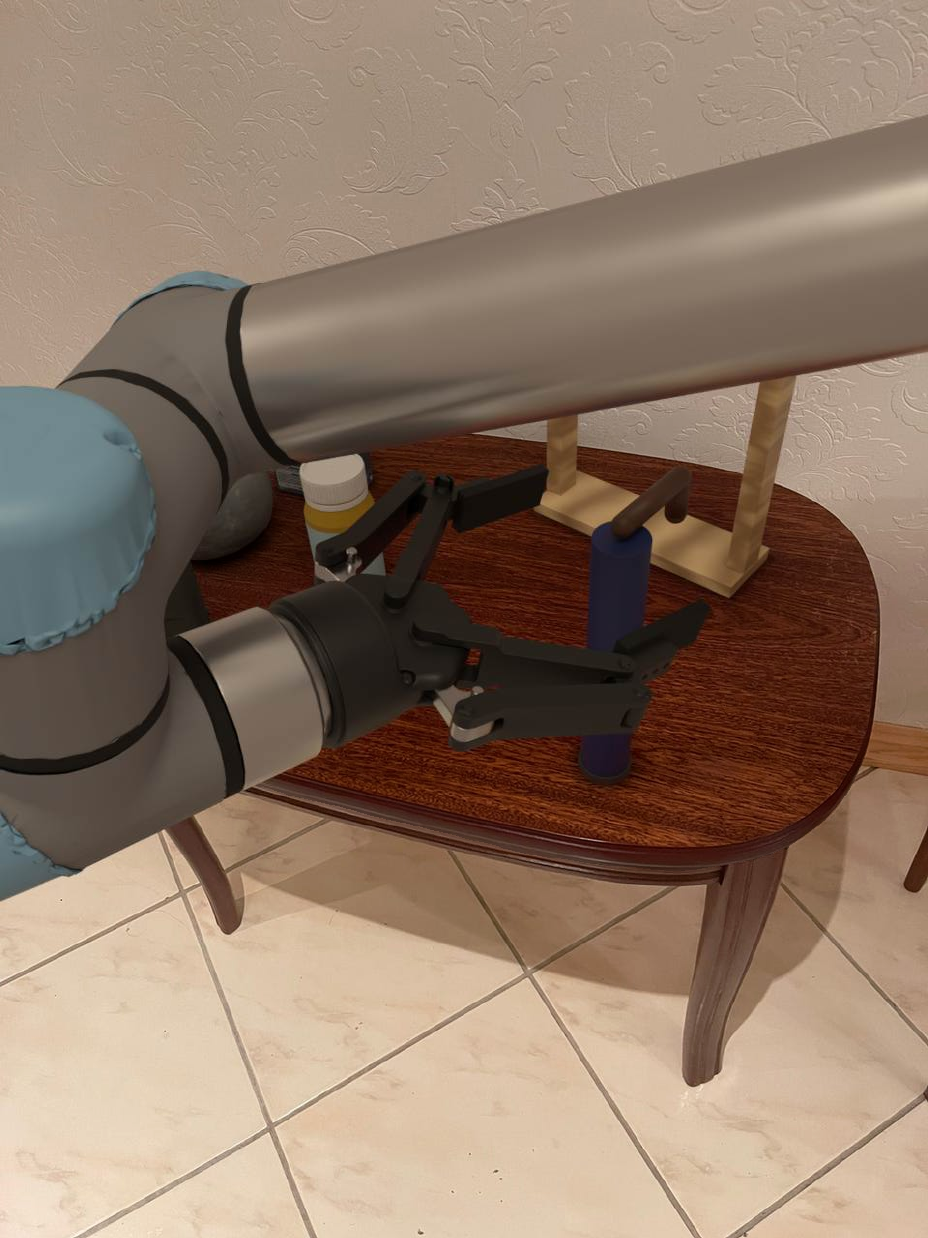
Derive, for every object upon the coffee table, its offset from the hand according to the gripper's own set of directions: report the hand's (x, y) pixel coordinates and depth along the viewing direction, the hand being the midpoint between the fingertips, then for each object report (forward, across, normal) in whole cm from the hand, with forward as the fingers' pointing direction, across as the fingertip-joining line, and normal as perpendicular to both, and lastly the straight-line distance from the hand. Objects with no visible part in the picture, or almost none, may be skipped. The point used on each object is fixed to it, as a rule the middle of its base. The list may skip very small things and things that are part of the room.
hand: (614, 547), depth 52 cm
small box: (+13, -52, -34) cm, 63 cm away
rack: (+34, -20, -26) cm, 47 cm away
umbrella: (+11, 0, -26) cm, 29 cm away
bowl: (-3, -50, -36) cm, 62 cm away
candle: (-13, -35, -36) cm, 51 cm away
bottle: (+5, -33, -33) cm, 47 cm away
